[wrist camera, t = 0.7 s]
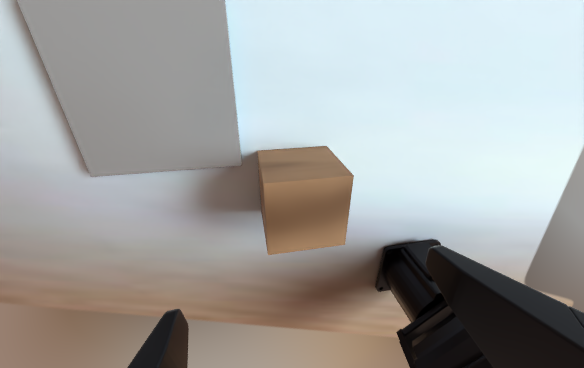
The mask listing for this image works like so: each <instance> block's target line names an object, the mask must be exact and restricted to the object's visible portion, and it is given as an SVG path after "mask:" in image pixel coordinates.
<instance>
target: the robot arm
mask: <svg viewBox="0 0 584 368" xmlns="http://www.w3.org/2000/svg"><path fill="white" fill-rule="evenodd" d="M375 287H376V289H377V291H379V292H381V291H386V290H391V292H392V293H393V295H394V296H395V298H396V299H397V301H398V303H399V304H400V306H401V307H402V309H403V310H404V312H405V314H406V315H407V317H408V318H409V320H410V321H411V323H410V324H409V325H408V326H406V327H405V328H403V329H400V330H399V331H397V335H398V337H399V340H400V344H401V347H402V349H403V352H404V354H405V357H406V359H407V361H408V364H409V366H410V368H584V313H583V312H581V311H579V310H577V309H574V308H572V307H570V306H569V307H568V306H567V305H566V304H564V303H562V302H560V301H558V300H555V299H553V298H551V297H549V296H547V295H545V294H543V293H541V292H539V291H537V290H534V289H532V288H530V287H528V286H526V285H524V284H522V283H520V282H518V281H515V280H513V279H511V278H509V277H507V276H505V275H503V274H501V273H499V272H497V271H494V270H492V269H490V268H488V267H486V266H484V265H482V264H480V263H478V262H476V261H473V260H471V259H469V258H467V257H465V256H463V255H461V254H459V253H457V252H455V251H452V250H450V249H448V248H446V247H444V246H441V243H440V242H439V241H438V240H430V241H423V242H416V243H409V244H402V245H394V246H388V247H386V248H385V249H384V251H383V255H382V260H381V264H380V269H379V273H378V277H377V282H376V286H375ZM187 360H188V323H187V321H186V319H185V317H184V315H183V313H182V312H181V310H180V309H174V310H170V311H167V312H166V313H165V314H164V315H163V316H162V318H161V319H160V321H159V322H158V324H157V325H156V327H155V328H154V330H153V331H152V333H151V334H150V335H149V337H148V338H147V340H146V341H145V343H144V344H143V346H142V347H141V349H140V350H139V351H138V353H137V354H136V356H135V357H134V359H133V360H132V362H131V363H130V365H129V366H128V368H187Z"/></svg>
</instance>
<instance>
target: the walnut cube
mask: <svg viewBox="0 0 584 368" xmlns="http://www.w3.org/2000/svg"><path fill="white" fill-rule="evenodd" d="M257 153H258V168H259V182H260V197H261V211H262V218H263V224H264V231H265V238H266V245H267V251H268V255H272V254H279V253H287V252H294V251H302V250H309V249H316V248H324V247H331V246H339V245H345V239H346V232H347V224H348V216H349V208H350V200H351V192H352V184H353V177H354V175H353V174H352V173H351V172H350V171H349V170H348V169H347V168H346V167H345V166H344V165H343V163H342V162H341V161H340V160H339V159H338V158H337V157H336V156H335V155H334V154H333V153H332V151H331V150H330V149H329V148H328V147H327V146H320V147H305V148H290V149H275V150H261V151H257Z"/></svg>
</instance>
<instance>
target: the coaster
mask: <svg viewBox="0 0 584 368" xmlns="http://www.w3.org/2000/svg"><path fill="white" fill-rule="evenodd" d="M17 2H18V4H19V7H20V9H21V11H22V14H23V16H24V19H25V21H26V23H27V26H28V28H29V30H30V33H31V35H32V38H33V40H34V42H35V45H36V47H37V49H38V52H39V54H40V57H41V59H42V61H43V64H44V66H45V69H46V71H47V73H48V76H49V78H50V80H51V83H52V85H53V88H54V90H55V92H56V95H57V97H58V99H59V102H60V104H61V107H62V109H63V111H64V114H65V116H66V119H67V121H68V123H69V126H70V128H71V130H72V133H73V135H74V138H75V140H76V142H77V145H78V147H79V149H80V152H81V154H82V157H83V159H84V161H85V164H86V166H87V169H88V171H89V173H90V176H91V177H96V176H110V175H123V174H136V173H149V172H162V171H175V170H189V169H202V168H215V167H228V166H241V165H242V160H241V150H240V141H239V131H238V121H237V111H236V102H235V92H234V82H233V72H232V63H231V53H230V43H229V33H228V24H227V14H226V4H225V0H17Z"/></svg>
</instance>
